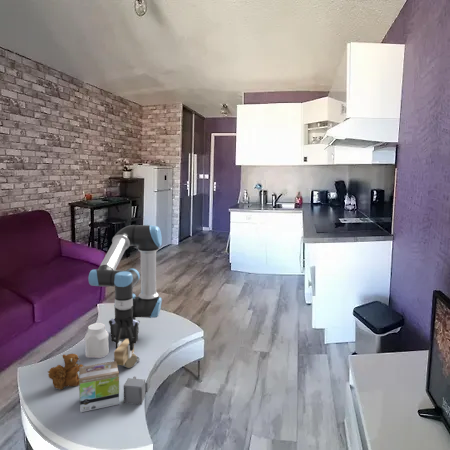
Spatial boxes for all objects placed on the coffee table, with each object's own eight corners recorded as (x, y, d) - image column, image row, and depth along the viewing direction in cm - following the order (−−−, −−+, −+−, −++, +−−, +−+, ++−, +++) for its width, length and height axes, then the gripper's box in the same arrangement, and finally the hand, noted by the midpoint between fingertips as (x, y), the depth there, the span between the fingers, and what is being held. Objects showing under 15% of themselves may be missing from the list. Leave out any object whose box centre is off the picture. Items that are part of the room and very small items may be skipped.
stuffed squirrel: (87, 381, 158) (86, 354, 156) (56, 396, 148) (55, 367, 146) (76, 373, 165) (75, 347, 163) (45, 386, 154) (44, 359, 152)
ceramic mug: (125, 371, 167) (125, 356, 166) (115, 364, 172) (115, 350, 171) (143, 362, 175) (143, 348, 174) (133, 356, 181) (133, 343, 179)
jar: (82, 357, 178) (81, 330, 176) (90, 348, 187) (89, 321, 185) (104, 358, 178) (104, 331, 175) (111, 349, 187) (110, 322, 185)
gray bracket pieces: (133, 385, 157) (133, 368, 155) (150, 386, 156) (150, 370, 155) (123, 402, 145) (123, 385, 144) (141, 404, 144) (141, 386, 143)
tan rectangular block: (125, 350, 163) (125, 338, 162) (134, 351, 163) (133, 339, 162) (114, 364, 151) (114, 351, 150) (123, 365, 151) (122, 352, 150)
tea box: (80, 414, 138) (78, 379, 135) (79, 398, 147) (78, 366, 144) (119, 405, 144) (119, 371, 141) (116, 390, 153) (116, 359, 150)
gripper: (101, 309, 150) (102, 359, 154) (140, 311, 149) (140, 362, 153) (108, 302, 158) (109, 350, 162) (145, 305, 156) (145, 353, 160)
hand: (124, 356), depth 157 cm, fingers closed on tan rectangular block, 4 cm apart
